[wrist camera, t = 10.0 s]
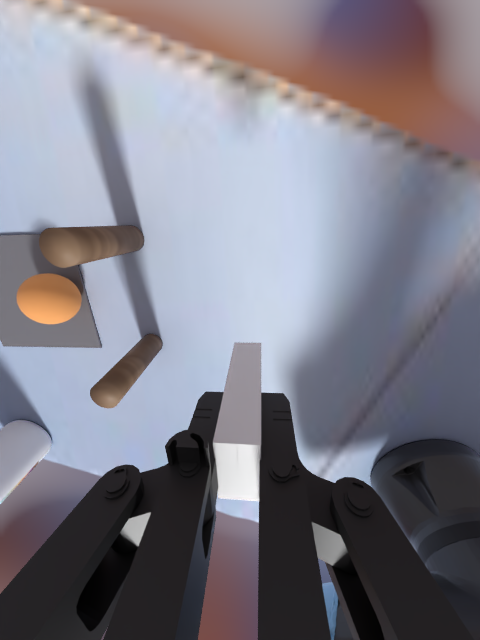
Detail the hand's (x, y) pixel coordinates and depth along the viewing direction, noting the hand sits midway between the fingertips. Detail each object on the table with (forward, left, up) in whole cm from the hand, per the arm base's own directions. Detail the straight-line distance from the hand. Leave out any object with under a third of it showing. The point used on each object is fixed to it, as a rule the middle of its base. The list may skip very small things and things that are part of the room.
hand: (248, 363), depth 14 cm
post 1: (+13, -6, -14) cm, 20 cm away
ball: (+22, 0, -11) cm, 25 cm away
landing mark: (+27, 0, -14) cm, 30 cm away
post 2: (+13, +6, -14) cm, 20 cm away
